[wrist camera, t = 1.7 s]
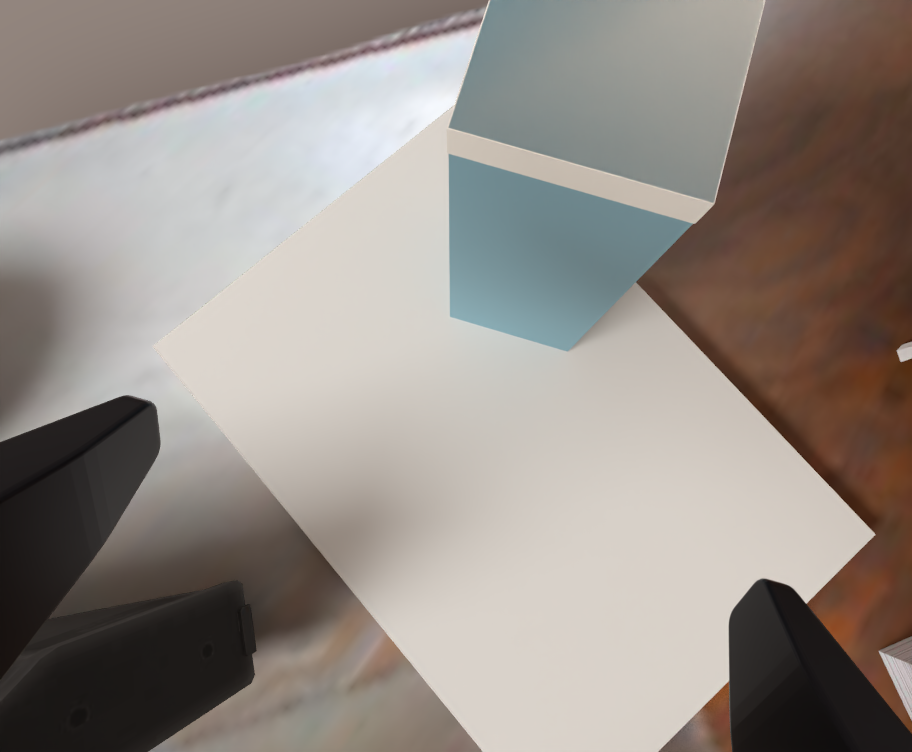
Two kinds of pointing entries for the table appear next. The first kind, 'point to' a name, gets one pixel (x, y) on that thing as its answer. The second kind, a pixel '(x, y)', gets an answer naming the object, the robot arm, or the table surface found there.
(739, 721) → the robot arm
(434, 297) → the cream rectangular board
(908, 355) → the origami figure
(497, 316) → the teal block
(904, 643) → the picture frame
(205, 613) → the magazine
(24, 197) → the table surface
